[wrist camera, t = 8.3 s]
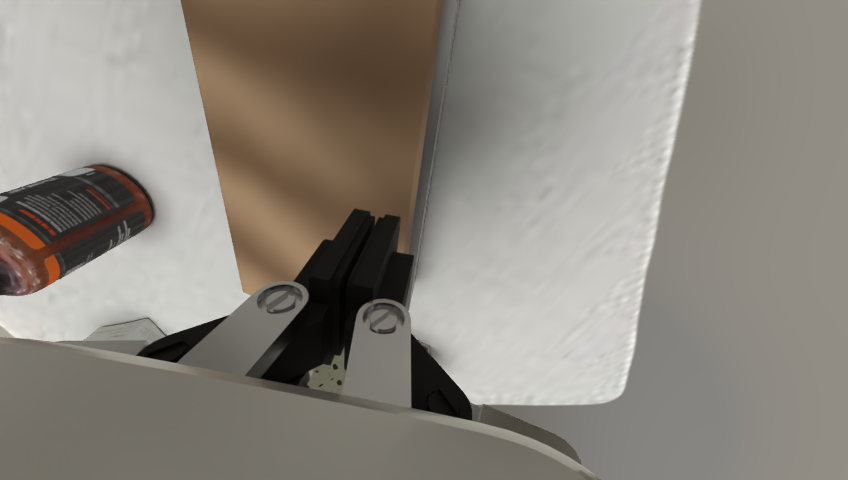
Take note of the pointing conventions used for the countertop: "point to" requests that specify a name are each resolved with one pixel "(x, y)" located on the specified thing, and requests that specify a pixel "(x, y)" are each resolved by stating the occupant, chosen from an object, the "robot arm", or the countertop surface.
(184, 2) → the lid
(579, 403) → the countertop surface
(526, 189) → the countertop surface
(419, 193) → the bar
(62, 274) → the supplement bottle
